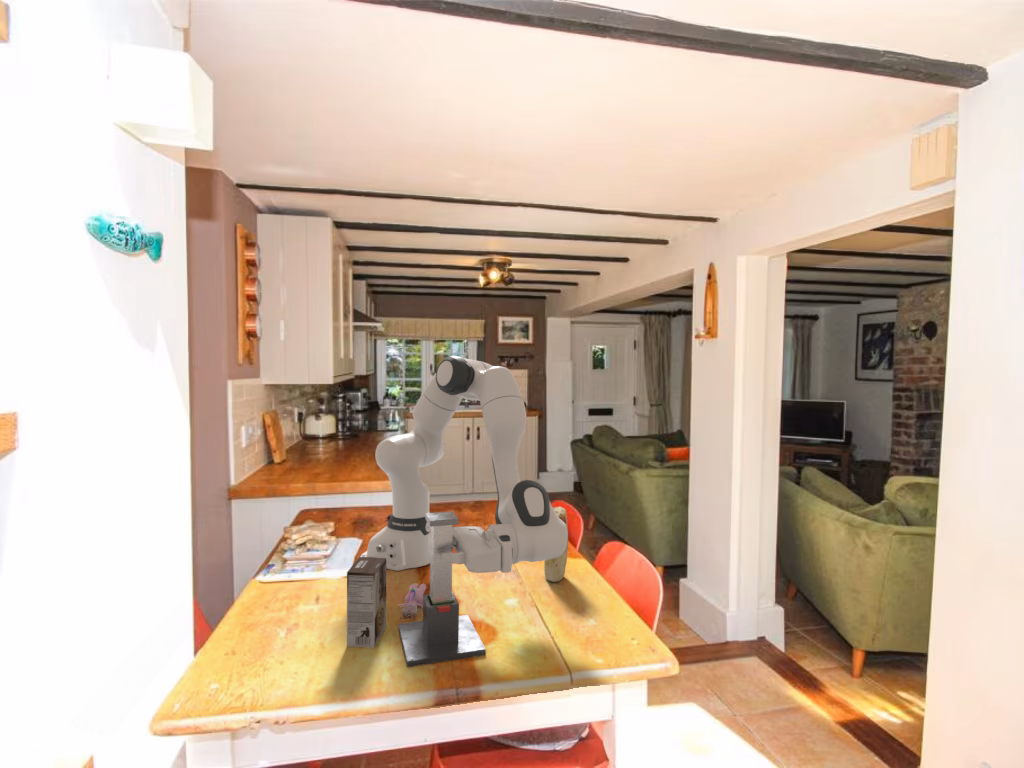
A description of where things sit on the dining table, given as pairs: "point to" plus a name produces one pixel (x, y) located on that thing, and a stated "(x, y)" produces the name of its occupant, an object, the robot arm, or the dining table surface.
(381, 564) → the coffee box
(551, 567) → the food model
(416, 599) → the rabbit figure
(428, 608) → the stand base
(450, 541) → the steel column
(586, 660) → the dining table surface
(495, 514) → the robot arm
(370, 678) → the dining table surface
